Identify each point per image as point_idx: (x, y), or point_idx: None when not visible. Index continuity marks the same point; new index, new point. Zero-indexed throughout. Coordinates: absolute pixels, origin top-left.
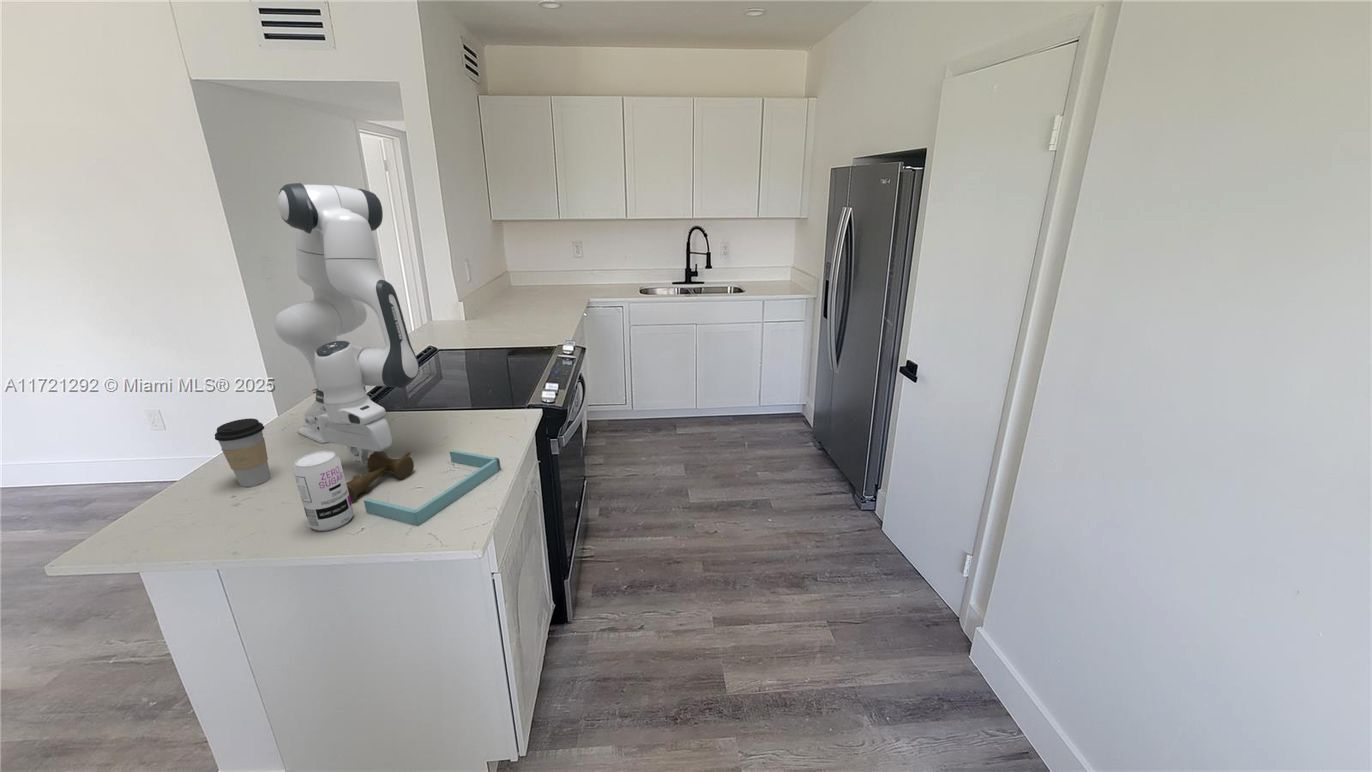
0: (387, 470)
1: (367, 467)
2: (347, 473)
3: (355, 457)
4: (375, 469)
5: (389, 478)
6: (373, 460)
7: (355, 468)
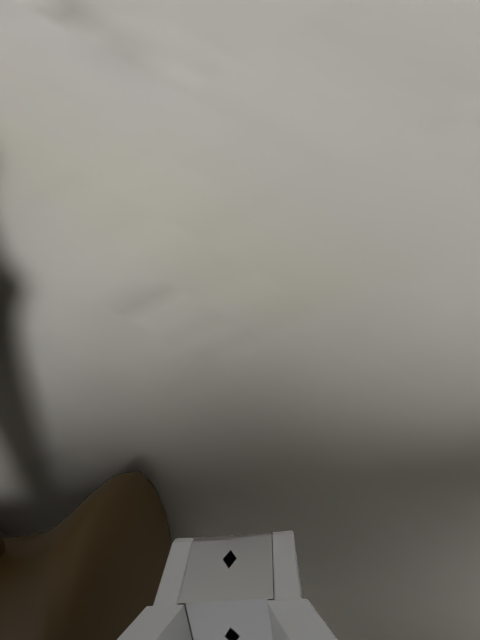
0: (14, 539)
1: (95, 504)
2: (354, 414)
3: (250, 578)
4: (69, 514)
5: (16, 486)
6: (24, 601)
7: (374, 482)
